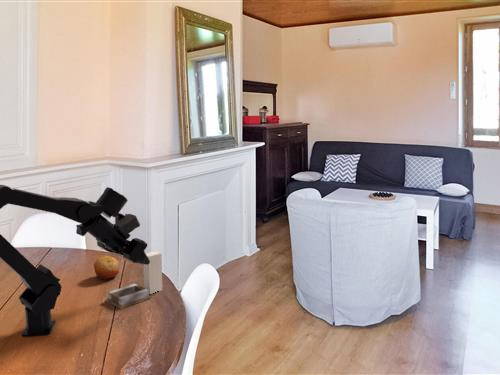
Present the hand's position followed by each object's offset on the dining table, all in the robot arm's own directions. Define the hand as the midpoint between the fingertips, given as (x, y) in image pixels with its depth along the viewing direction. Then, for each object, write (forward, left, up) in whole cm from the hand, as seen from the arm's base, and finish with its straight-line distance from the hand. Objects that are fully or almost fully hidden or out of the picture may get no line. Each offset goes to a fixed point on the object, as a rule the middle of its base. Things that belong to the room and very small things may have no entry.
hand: (140, 259), depth 130 cm
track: (-2, +3, -11) cm, 12 cm away
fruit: (+17, +12, -11) cm, 23 cm away
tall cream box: (+3, -4, -11) cm, 12 cm away
